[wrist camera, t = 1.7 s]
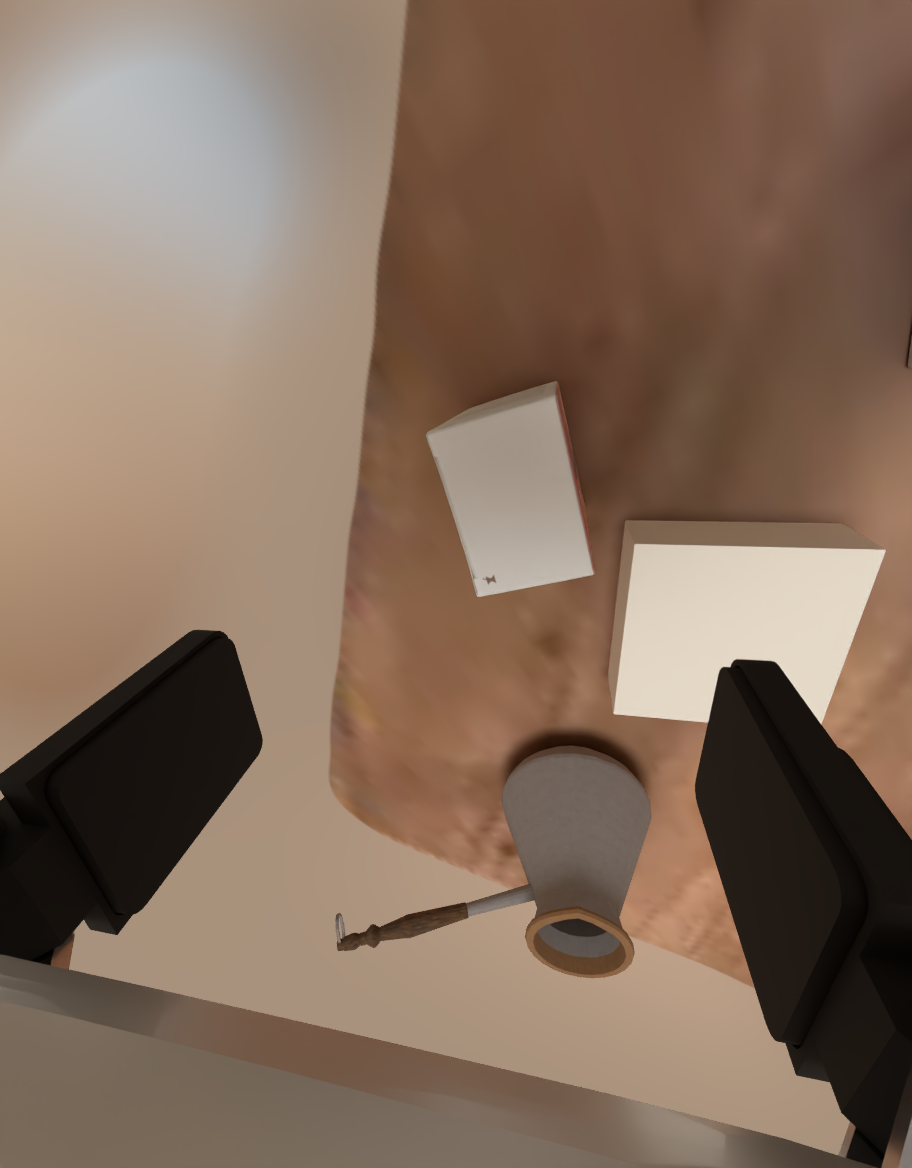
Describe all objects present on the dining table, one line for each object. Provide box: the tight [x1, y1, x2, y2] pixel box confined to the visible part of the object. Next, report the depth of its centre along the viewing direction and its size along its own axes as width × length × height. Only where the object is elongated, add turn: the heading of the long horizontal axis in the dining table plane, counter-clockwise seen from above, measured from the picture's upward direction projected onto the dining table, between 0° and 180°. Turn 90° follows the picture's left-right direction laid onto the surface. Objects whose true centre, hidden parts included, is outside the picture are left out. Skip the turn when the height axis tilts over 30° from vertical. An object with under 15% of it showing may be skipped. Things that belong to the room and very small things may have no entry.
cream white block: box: [608, 520, 886, 723], centre depth 30 cm, size 12×12×4 cm
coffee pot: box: [336, 745, 651, 978], centre depth 34 cm, size 21×12×15 cm, turn 96°
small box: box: [426, 381, 595, 597], centre depth 25 cm, size 8×6×10 cm
